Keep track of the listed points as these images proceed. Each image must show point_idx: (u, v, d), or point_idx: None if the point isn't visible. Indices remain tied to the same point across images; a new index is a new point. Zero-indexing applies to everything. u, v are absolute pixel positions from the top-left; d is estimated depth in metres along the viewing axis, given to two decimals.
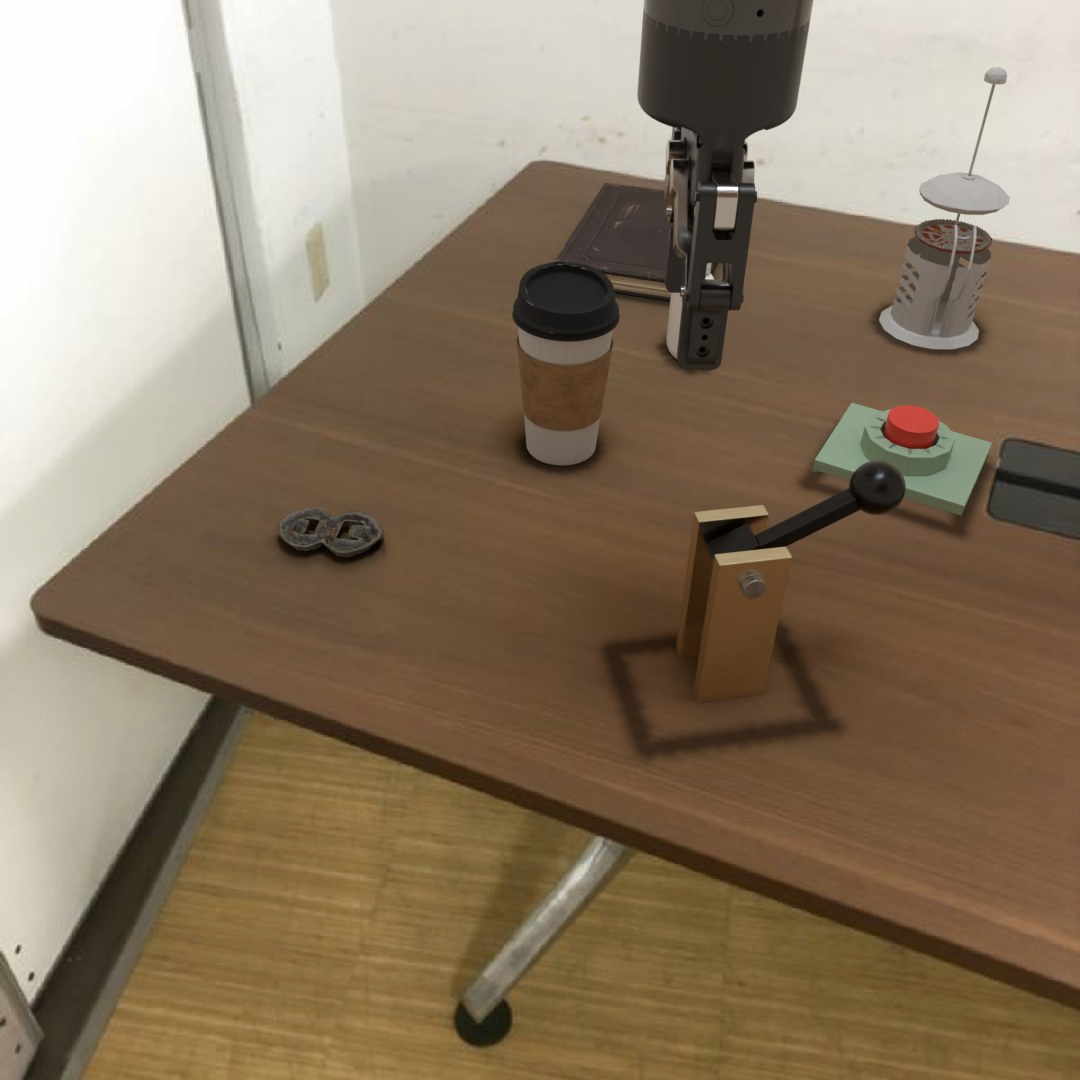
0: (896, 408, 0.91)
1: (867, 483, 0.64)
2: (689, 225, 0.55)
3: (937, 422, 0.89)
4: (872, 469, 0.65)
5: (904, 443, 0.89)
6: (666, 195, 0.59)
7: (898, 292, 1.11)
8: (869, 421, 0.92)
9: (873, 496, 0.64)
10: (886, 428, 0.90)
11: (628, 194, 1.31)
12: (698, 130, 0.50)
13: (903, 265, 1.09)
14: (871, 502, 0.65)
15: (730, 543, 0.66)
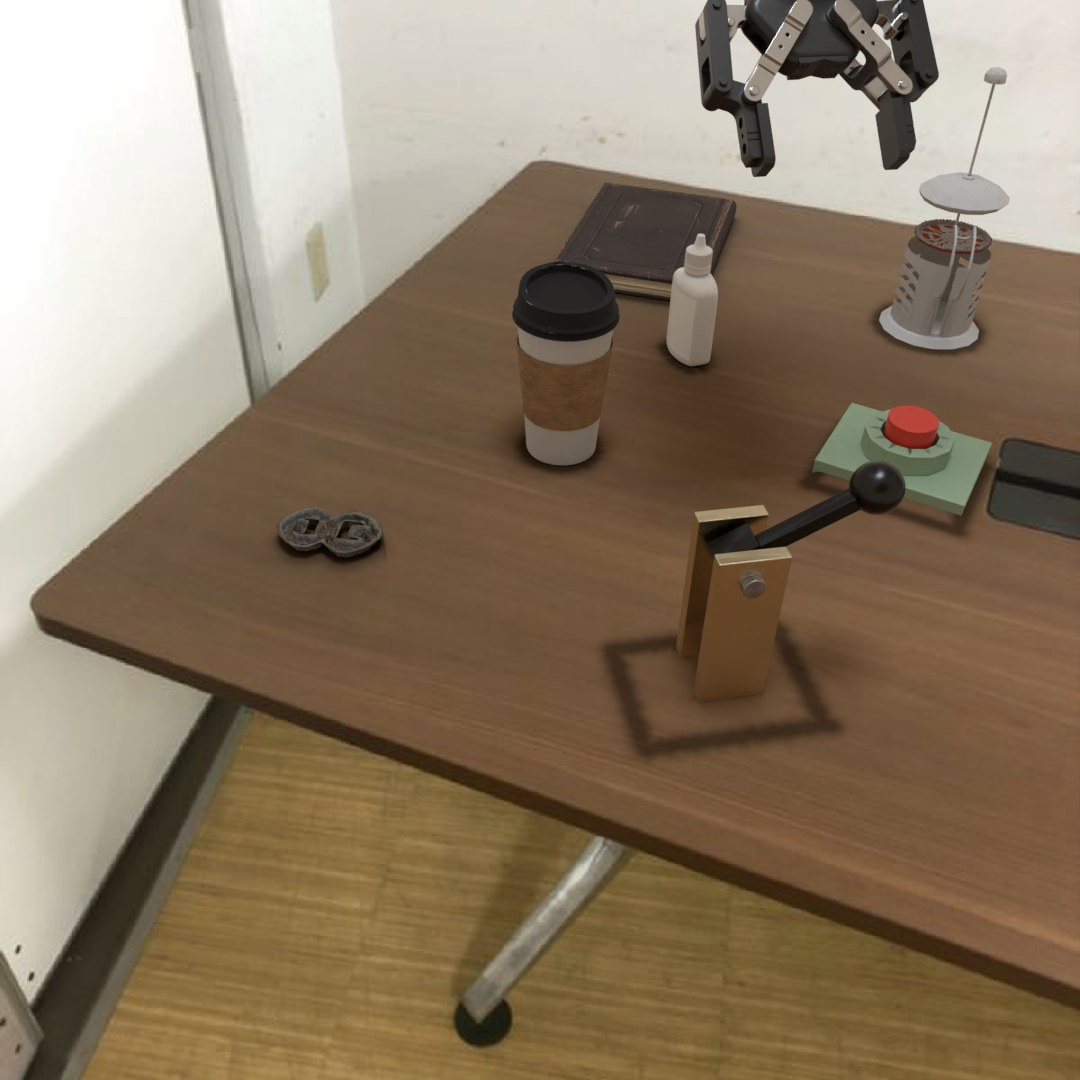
0: (896, 408, 0.91)
1: (867, 483, 0.64)
2: (778, 71, 0.68)
3: (937, 422, 0.89)
4: (872, 469, 0.65)
5: (904, 443, 0.89)
6: (846, 81, 0.70)
7: (898, 292, 1.11)
8: (869, 421, 0.92)
9: (873, 496, 0.64)
10: (886, 428, 0.90)
11: (628, 193, 1.31)
12: None
13: (903, 265, 1.09)
14: (871, 502, 0.65)
15: (730, 543, 0.66)
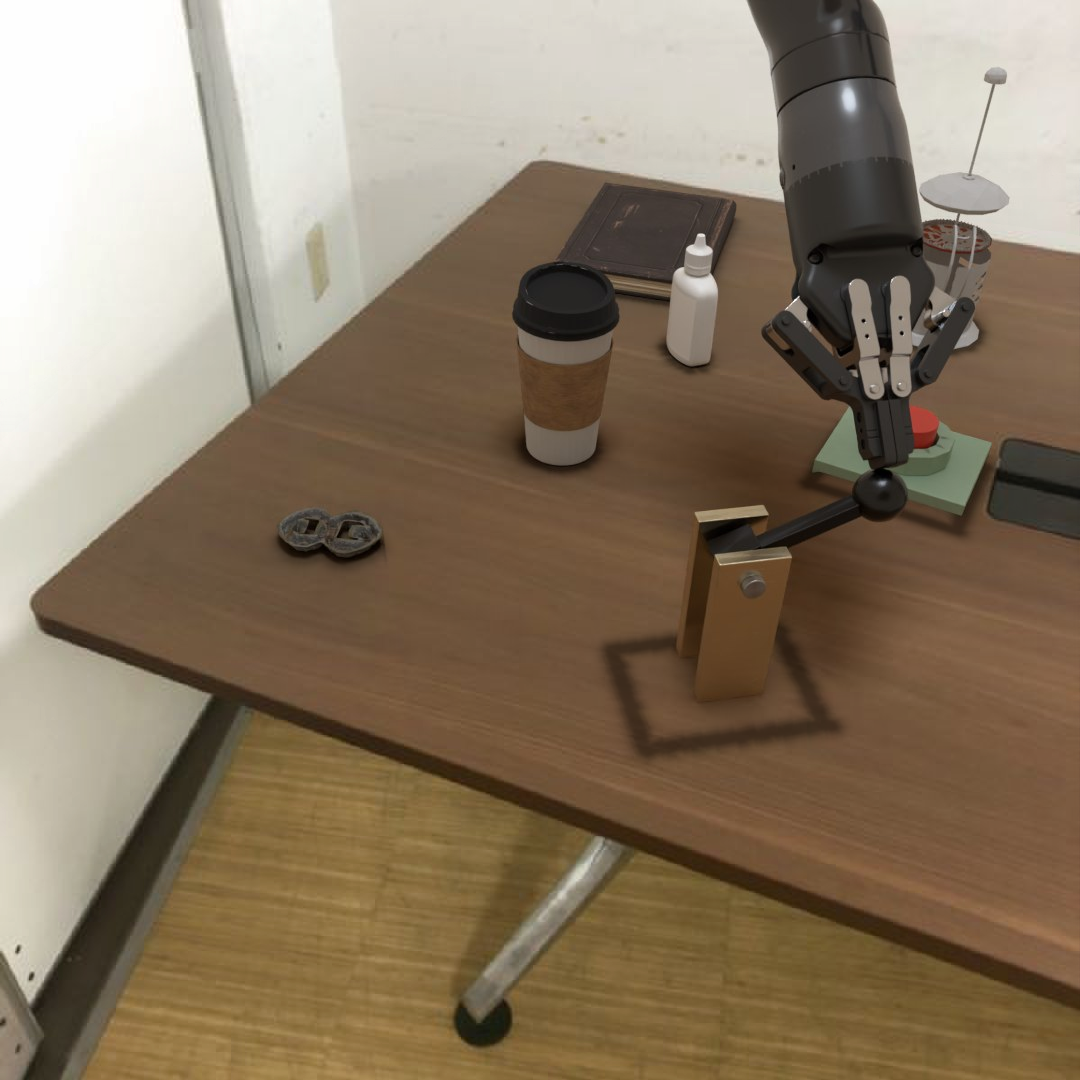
0: None
1: (871, 490, 0.65)
2: (830, 343, 0.66)
3: (937, 422, 0.89)
4: (876, 476, 0.65)
5: None
6: None
7: None
8: None
9: (876, 503, 0.65)
10: None
11: (628, 193, 1.31)
12: (793, 262, 0.67)
13: None
14: (874, 509, 0.65)
15: (732, 543, 0.66)
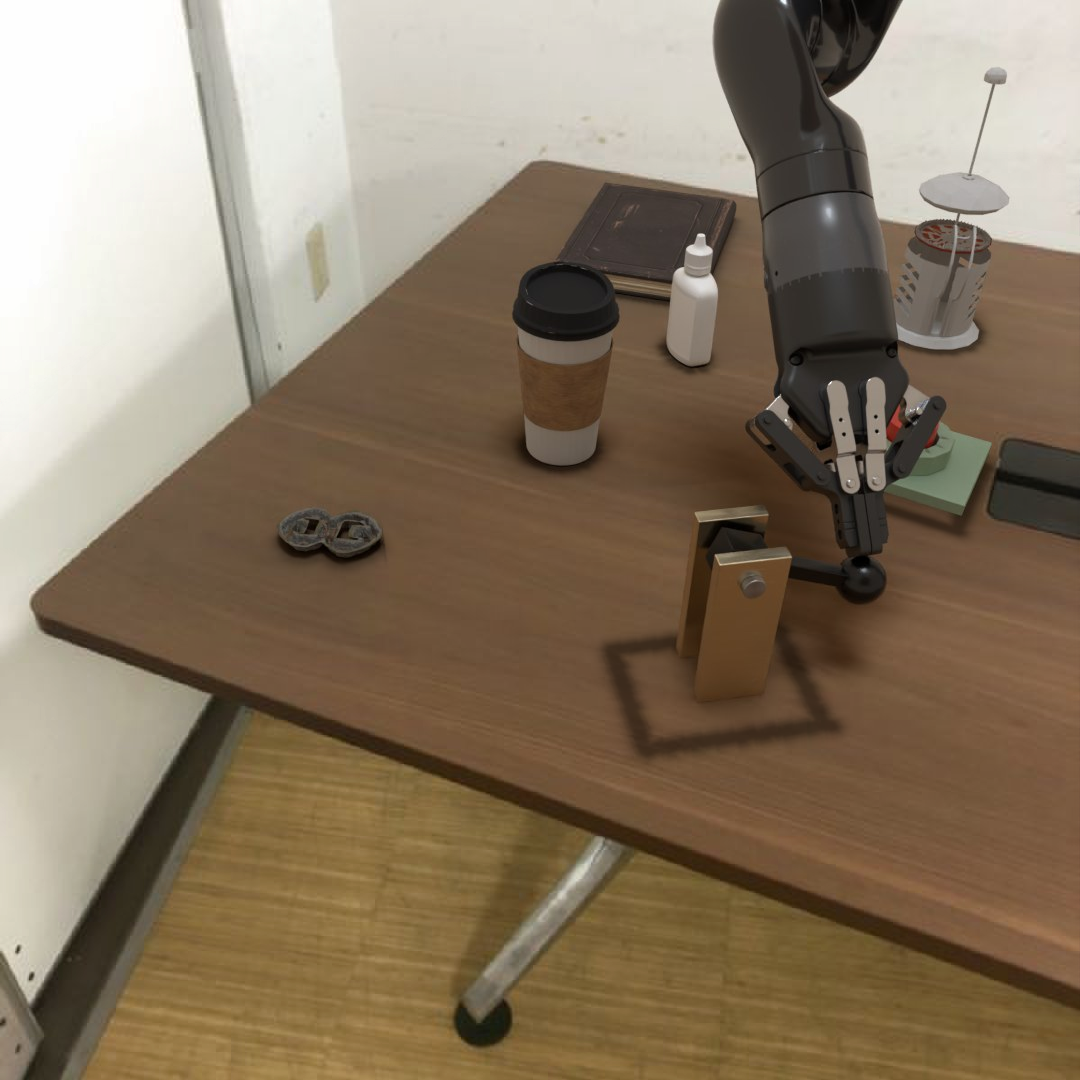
0: None
1: (868, 569, 0.69)
2: None
3: None
4: (875, 561, 0.70)
5: None
6: None
7: (898, 292, 1.11)
8: None
9: (866, 582, 0.69)
10: None
11: (628, 193, 1.31)
12: (776, 360, 0.71)
13: (903, 265, 1.09)
14: (861, 586, 0.69)
15: (746, 540, 0.67)
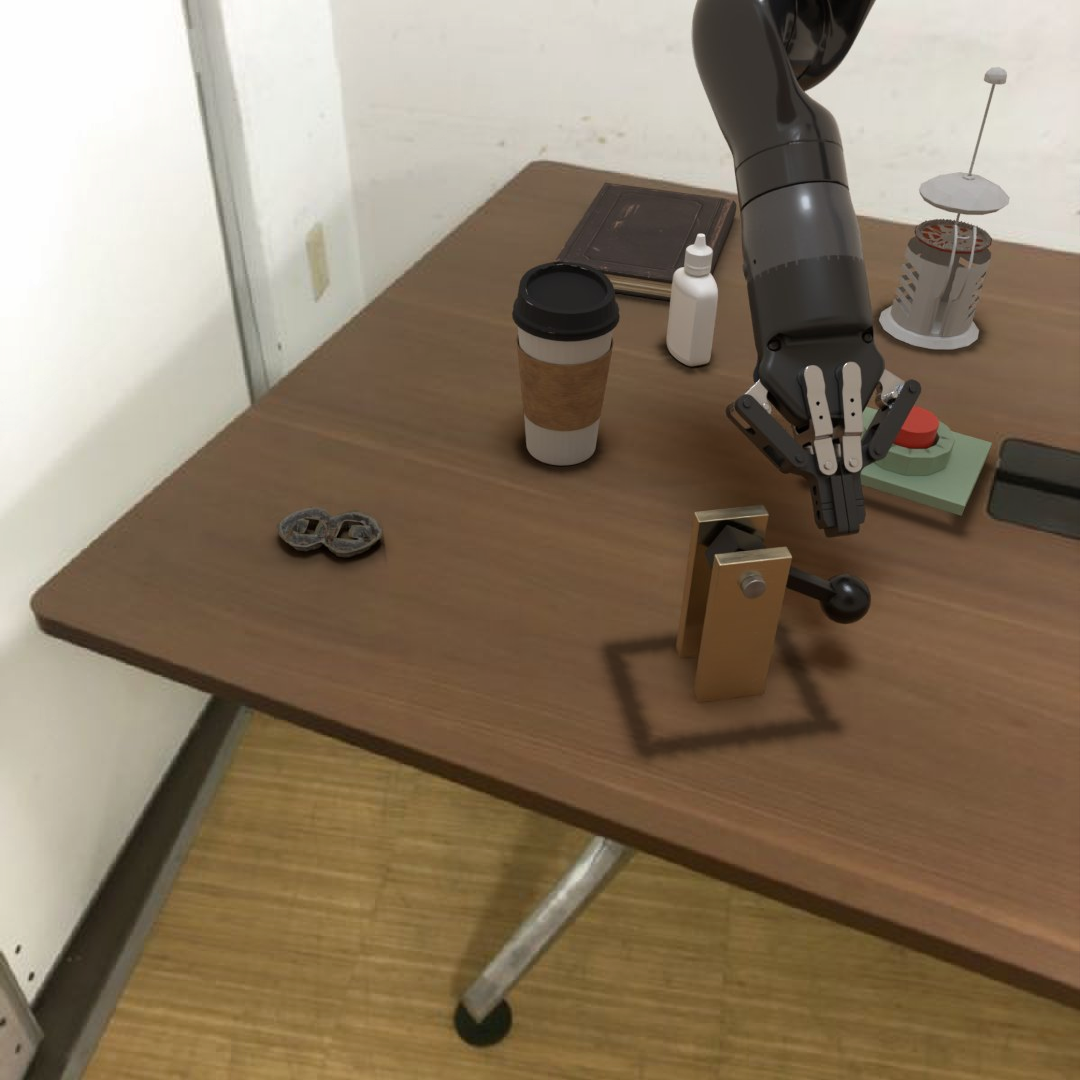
0: None
1: (857, 588, 0.70)
2: None
3: (937, 422, 0.89)
4: (862, 582, 0.70)
5: (904, 443, 0.89)
6: None
7: (898, 292, 1.11)
8: (869, 421, 0.92)
9: (853, 601, 0.70)
10: None
11: (628, 193, 1.31)
12: (755, 346, 0.73)
13: (903, 265, 1.09)
14: (848, 604, 0.70)
15: (749, 541, 0.67)
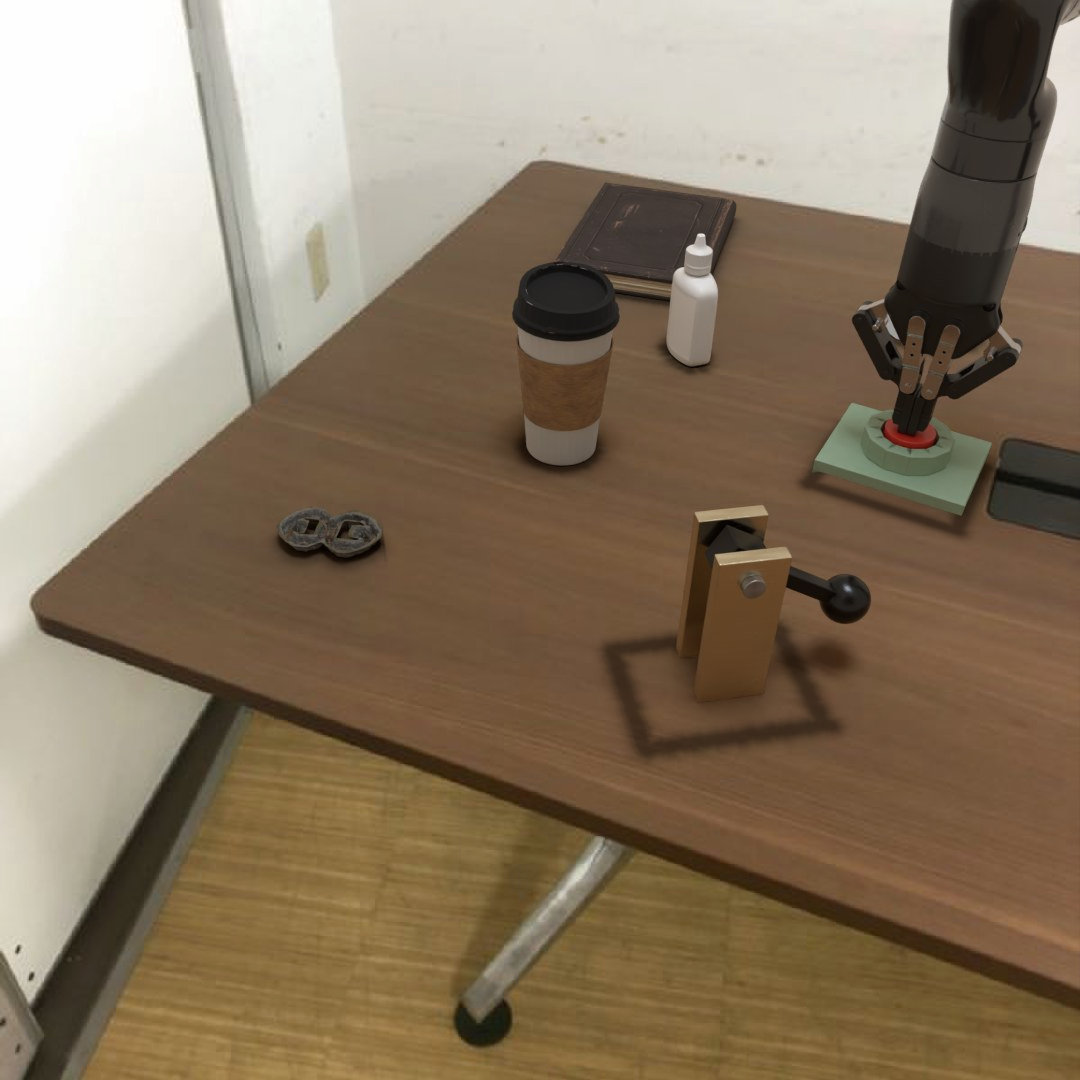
0: None
1: (857, 588, 0.70)
2: None
3: (934, 432, 0.90)
4: (862, 582, 0.70)
5: None
6: None
7: None
8: (869, 421, 0.92)
9: (853, 601, 0.70)
10: None
11: (628, 193, 1.31)
12: None
13: None
14: (848, 604, 0.70)
15: (749, 541, 0.67)
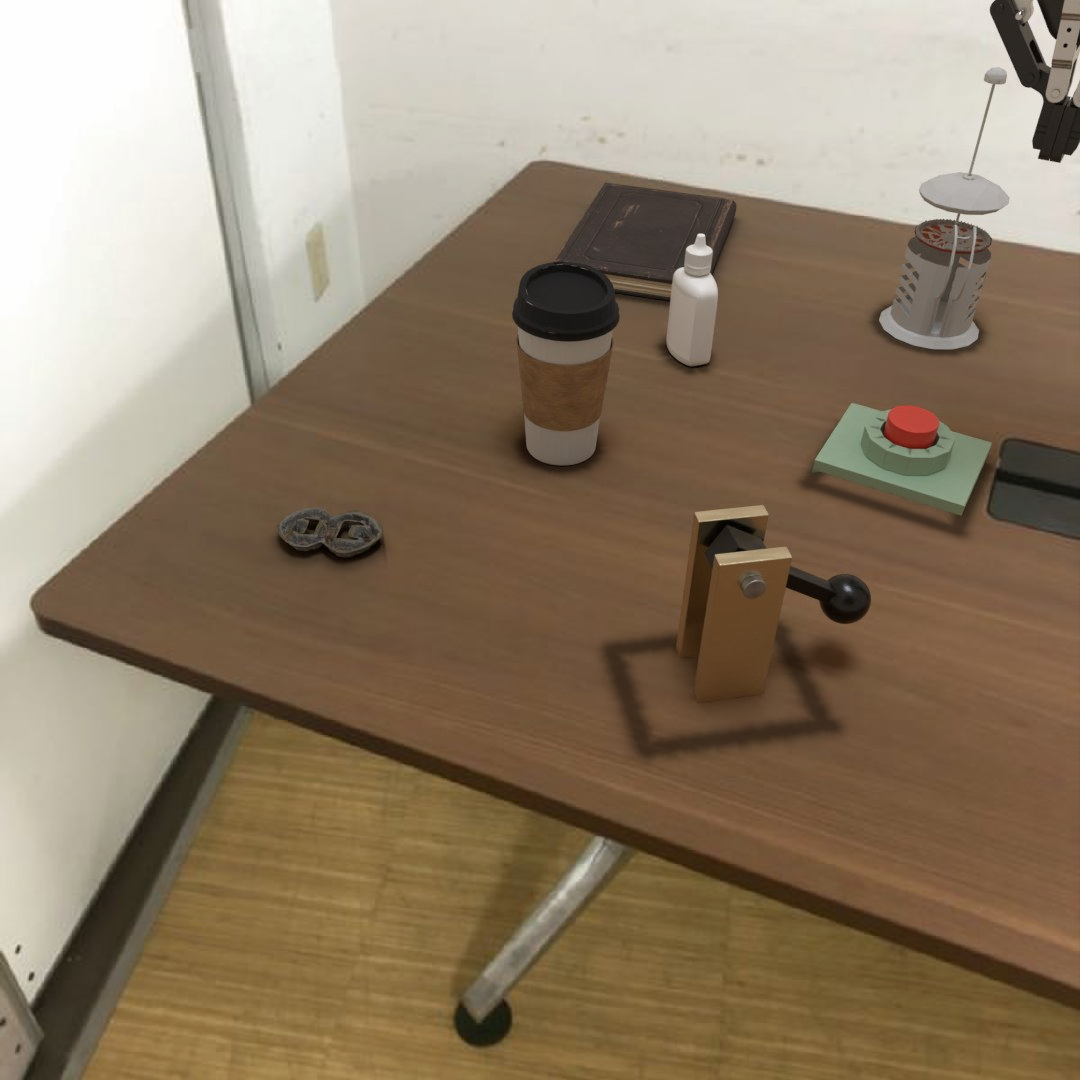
0: (896, 408, 0.91)
1: (857, 588, 0.70)
2: None
3: (937, 422, 0.89)
4: (862, 582, 0.70)
5: (904, 443, 0.89)
6: None
7: (898, 292, 1.11)
8: (869, 421, 0.92)
9: (853, 601, 0.70)
10: (886, 428, 0.90)
11: (628, 193, 1.31)
12: None
13: (903, 265, 1.09)
14: (848, 604, 0.70)
15: (749, 541, 0.67)
